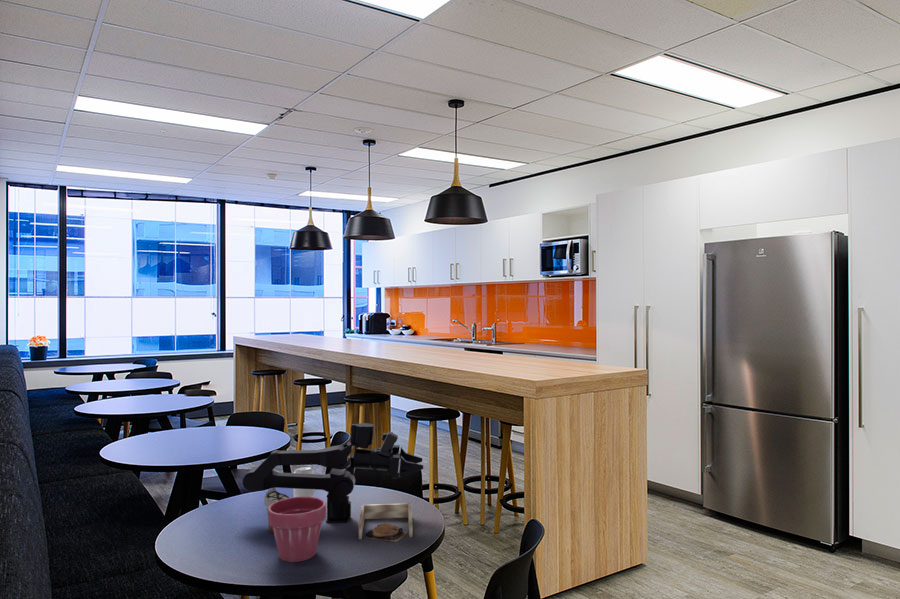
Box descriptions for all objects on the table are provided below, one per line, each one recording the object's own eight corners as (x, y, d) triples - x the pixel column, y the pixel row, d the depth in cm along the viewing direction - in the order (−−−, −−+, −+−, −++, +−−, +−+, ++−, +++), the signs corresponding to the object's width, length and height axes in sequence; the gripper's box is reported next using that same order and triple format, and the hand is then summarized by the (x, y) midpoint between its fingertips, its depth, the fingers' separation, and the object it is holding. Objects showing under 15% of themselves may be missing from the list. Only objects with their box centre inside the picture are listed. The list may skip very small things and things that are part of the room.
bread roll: (409, 534, 171) (409, 521, 171) (396, 545, 164) (396, 531, 164) (376, 529, 175) (376, 516, 175) (361, 539, 167) (361, 525, 168)
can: (311, 508, 192) (311, 470, 192) (291, 508, 192) (291, 470, 192) (316, 502, 198) (316, 465, 199) (296, 502, 199) (296, 465, 199)
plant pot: (277, 571, 146) (277, 517, 146) (261, 551, 158) (261, 502, 158) (334, 558, 154) (334, 507, 154) (315, 540, 166) (314, 493, 166)
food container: (256, 527, 174) (255, 493, 173) (275, 519, 179) (274, 486, 178) (279, 541, 166) (279, 506, 165) (299, 533, 171) (298, 499, 170)
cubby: (358, 539, 166) (358, 524, 166) (361, 518, 183) (361, 504, 183) (412, 537, 168) (412, 522, 168) (410, 516, 184) (410, 503, 184)
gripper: (372, 438, 175) (426, 442, 176) (375, 427, 193) (424, 431, 194) (368, 477, 174) (422, 481, 175) (371, 462, 193) (420, 466, 194)
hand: (422, 463), depth 185 cm, fingers open, 9 cm apart
